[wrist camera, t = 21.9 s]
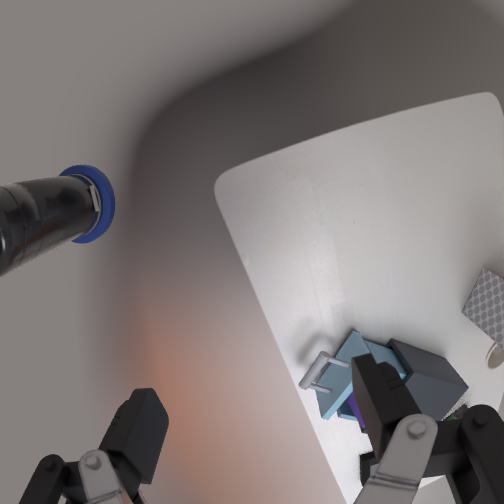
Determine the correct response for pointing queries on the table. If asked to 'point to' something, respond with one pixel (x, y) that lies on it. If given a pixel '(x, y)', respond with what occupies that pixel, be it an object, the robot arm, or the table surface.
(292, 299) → the table surface
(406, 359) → the cabinet
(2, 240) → the robot arm
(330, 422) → the table surface
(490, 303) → the box
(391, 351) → the drawer
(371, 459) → the vhs tape
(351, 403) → the block
